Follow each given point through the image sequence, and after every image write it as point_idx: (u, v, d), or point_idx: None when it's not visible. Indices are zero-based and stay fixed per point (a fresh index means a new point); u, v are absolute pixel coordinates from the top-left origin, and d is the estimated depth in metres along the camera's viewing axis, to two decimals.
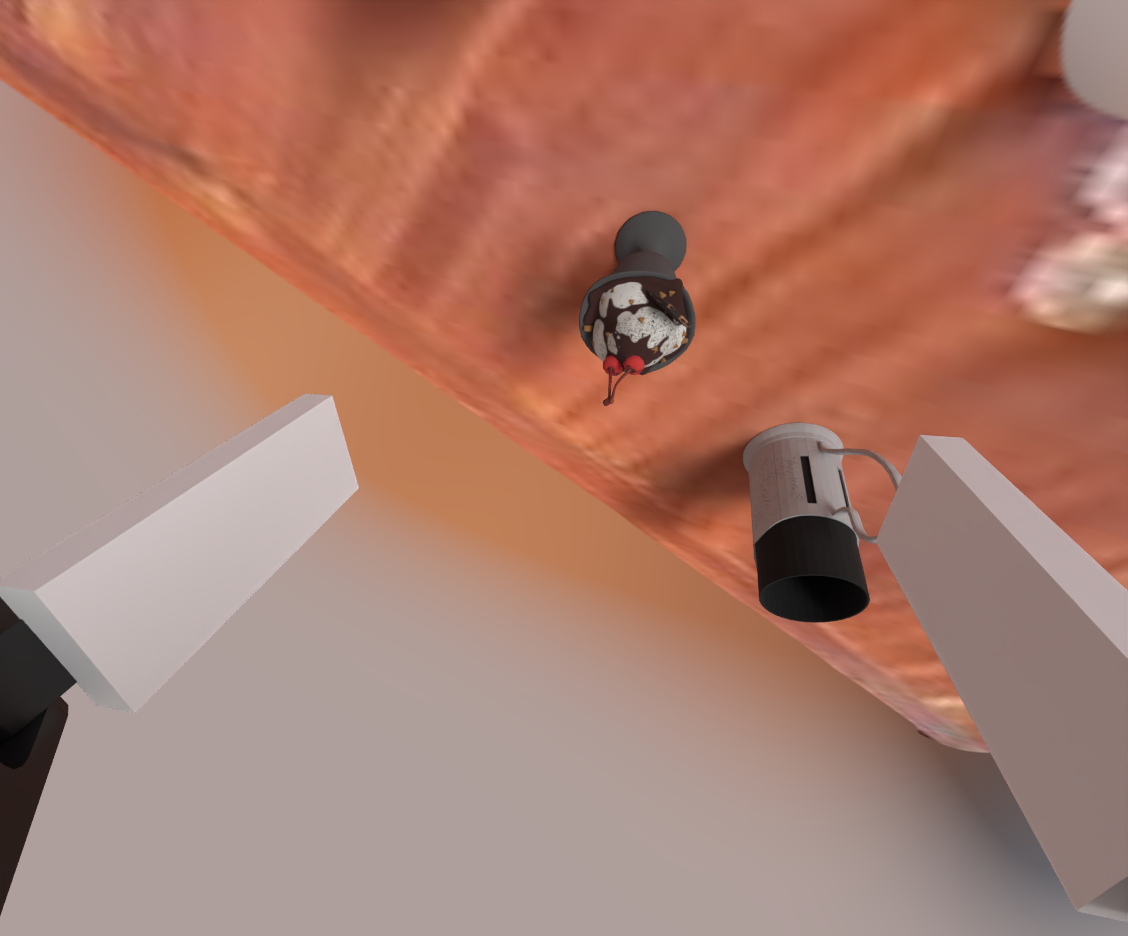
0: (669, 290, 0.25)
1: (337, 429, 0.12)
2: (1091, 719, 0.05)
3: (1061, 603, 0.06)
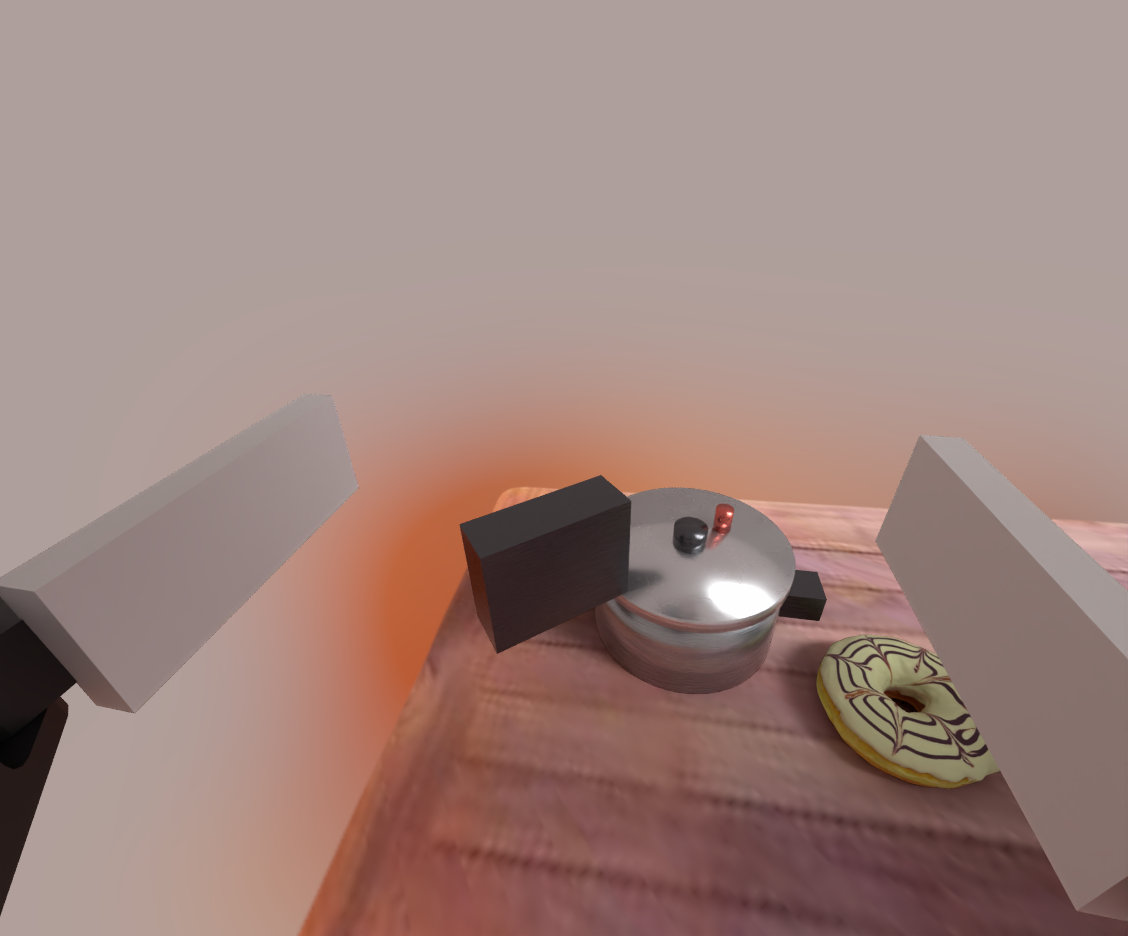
0: None
1: (337, 429, 0.12)
2: (1091, 719, 0.05)
3: (1061, 603, 0.06)
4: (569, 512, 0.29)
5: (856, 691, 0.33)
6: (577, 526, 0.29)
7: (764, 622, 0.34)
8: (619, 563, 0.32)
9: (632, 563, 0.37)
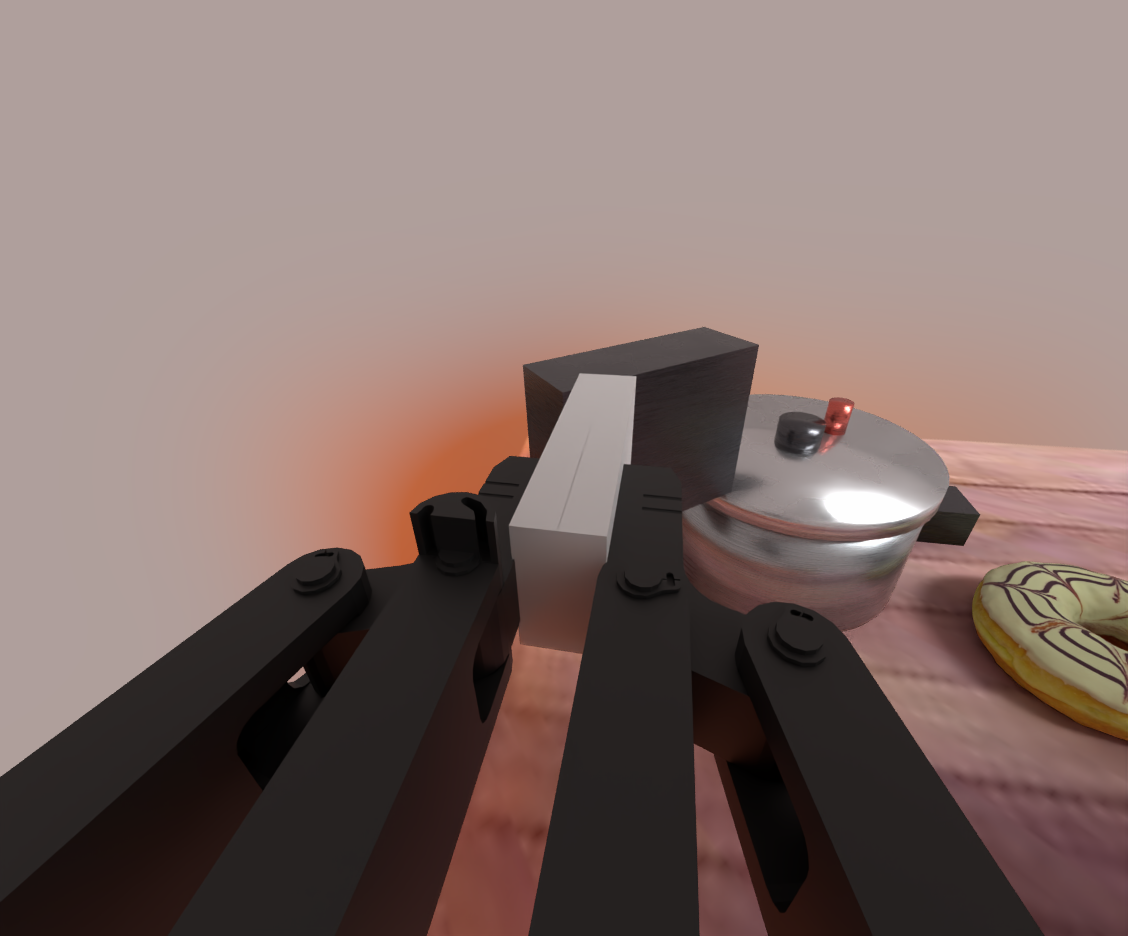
0: None
1: None
2: None
3: None
4: (677, 354, 0.21)
5: (1047, 623, 0.24)
6: (690, 369, 0.20)
7: (913, 534, 0.26)
8: (729, 444, 0.24)
9: None
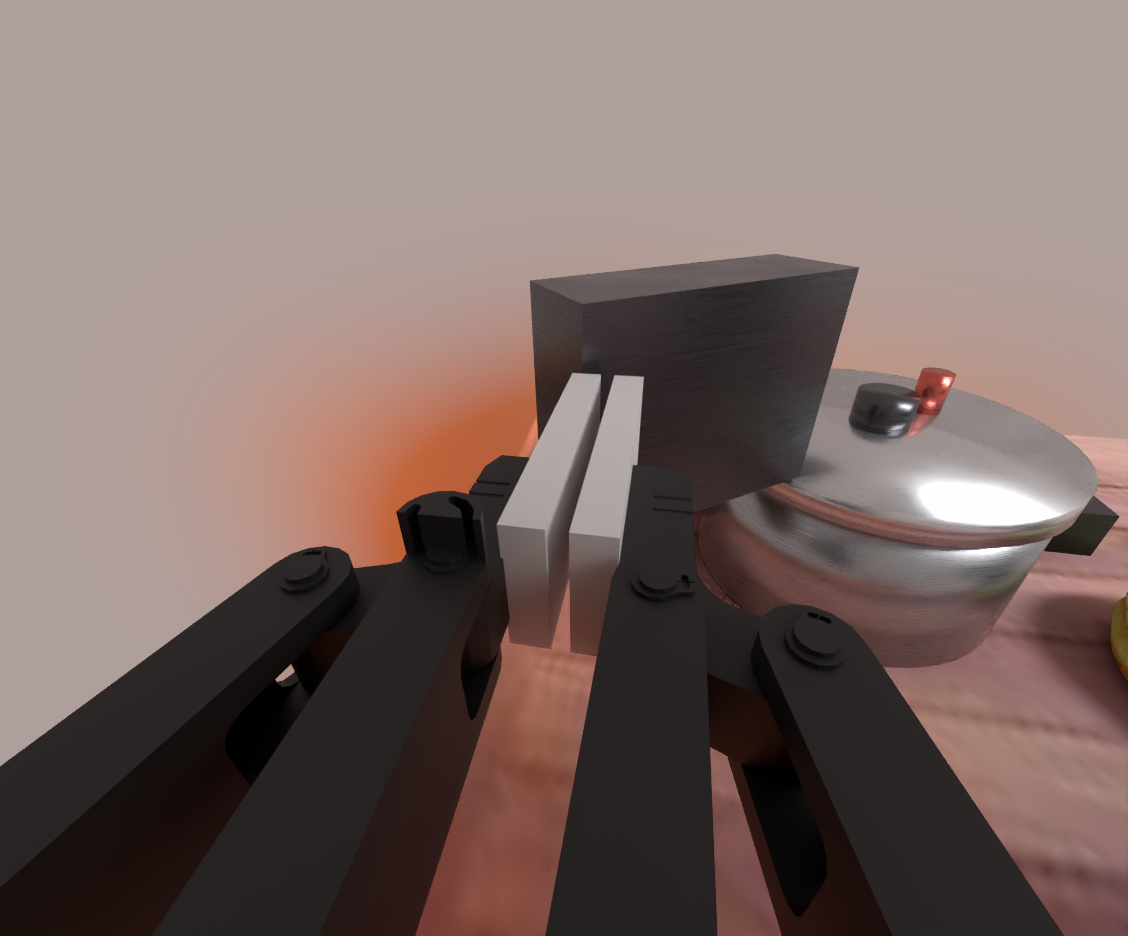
0: None
1: (599, 406, 0.13)
2: None
3: None
4: (744, 274, 0.15)
5: None
6: (765, 293, 0.14)
7: (1049, 540, 0.19)
8: (803, 410, 0.18)
9: None
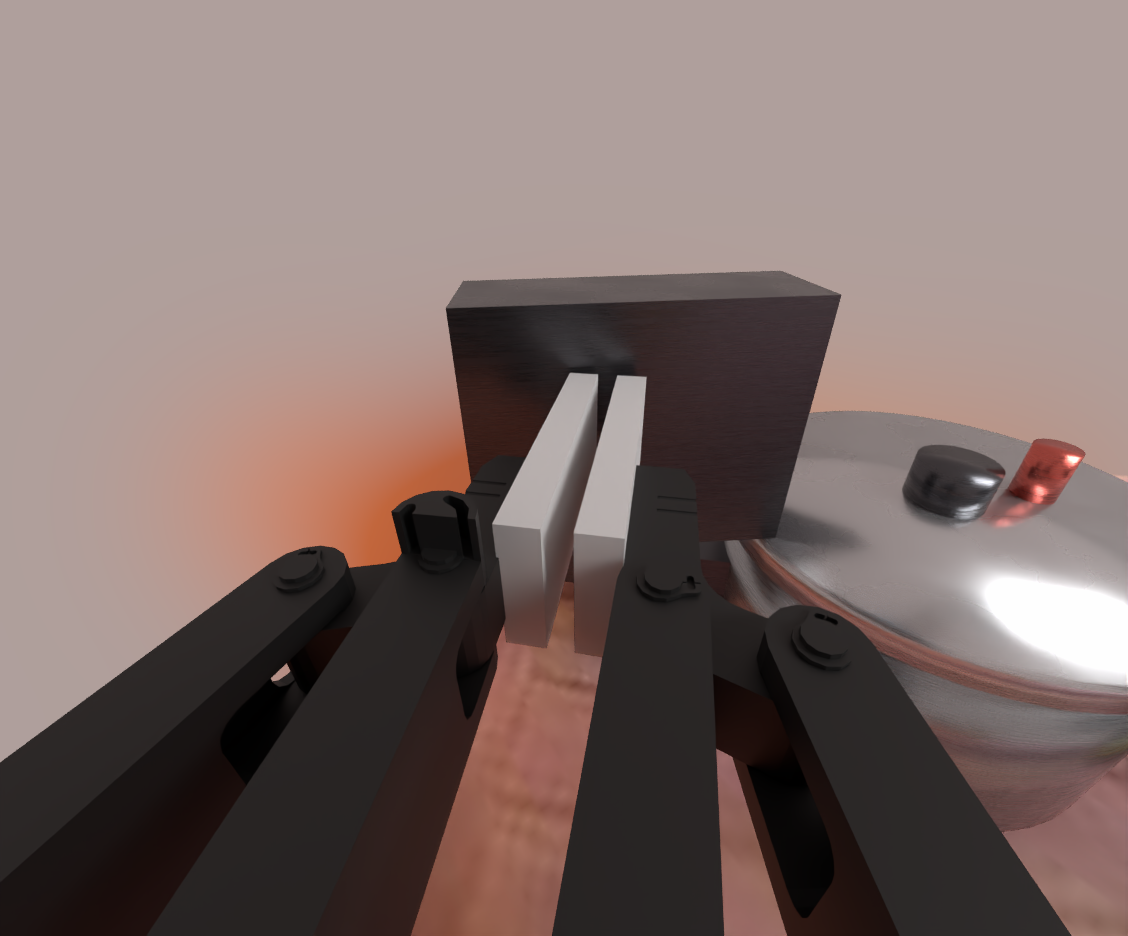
0: None
1: (596, 406, 0.13)
2: None
3: None
4: (681, 292, 0.13)
5: None
6: (689, 315, 0.12)
7: None
8: (770, 460, 0.15)
9: (802, 498, 0.18)
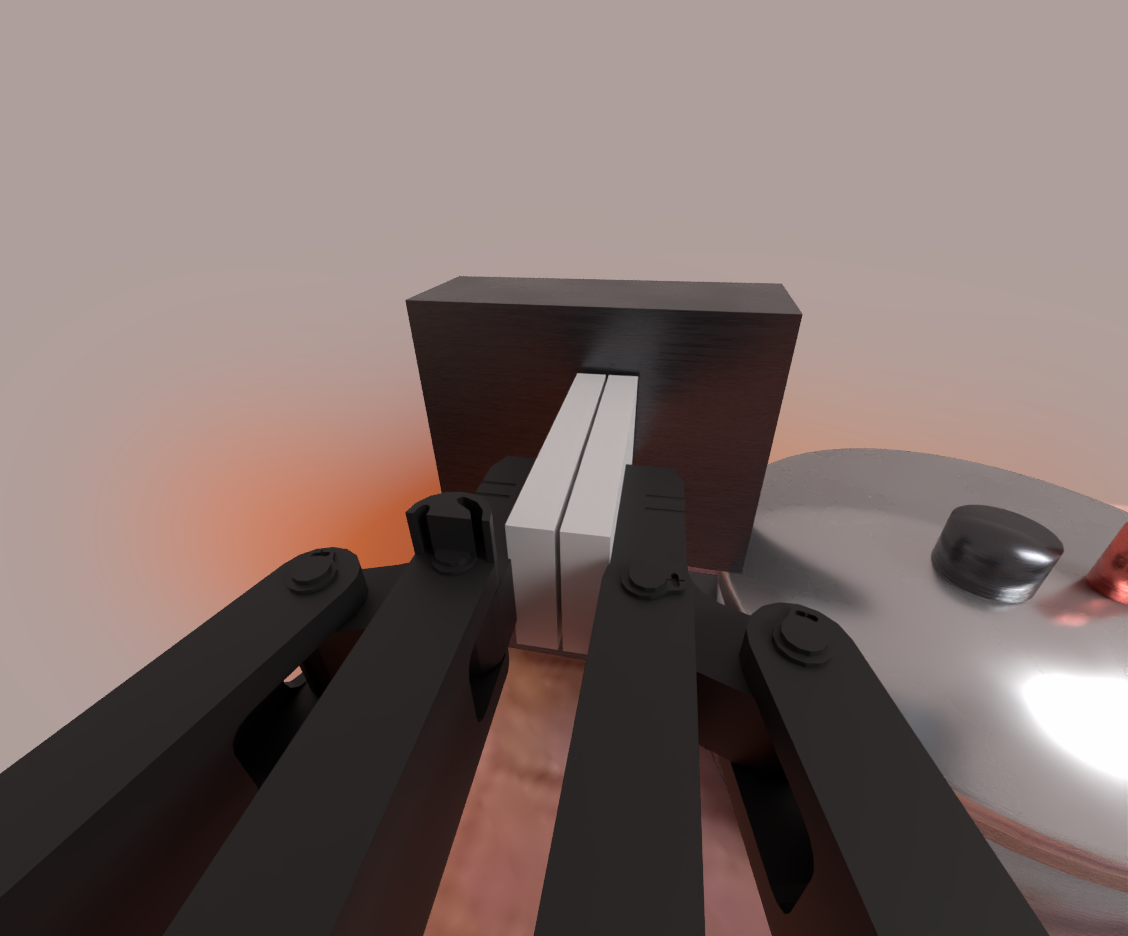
0: None
1: None
2: None
3: None
4: (636, 299, 0.13)
5: None
6: (630, 323, 0.12)
7: None
8: (730, 488, 0.14)
9: (799, 539, 0.16)
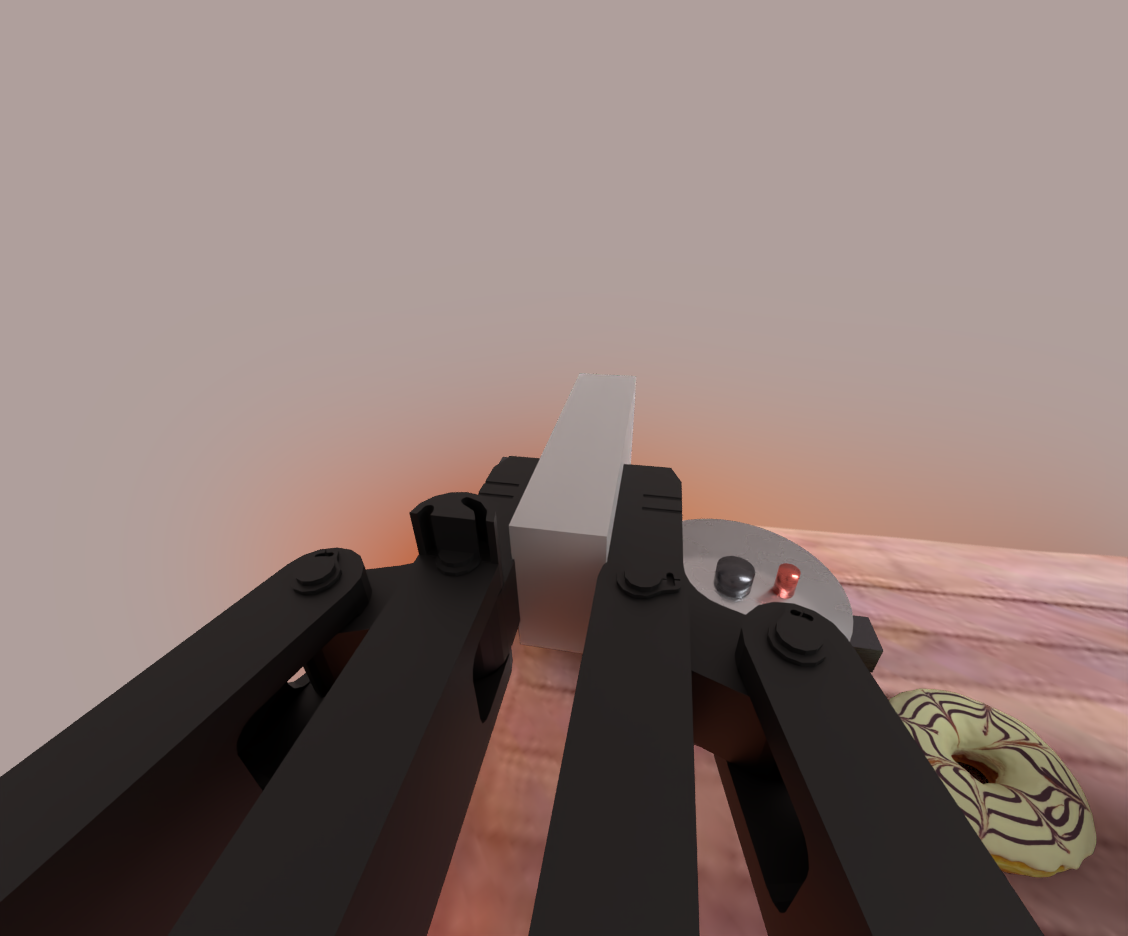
0: None
1: None
2: None
3: None
4: None
5: None
6: None
7: None
8: None
9: None
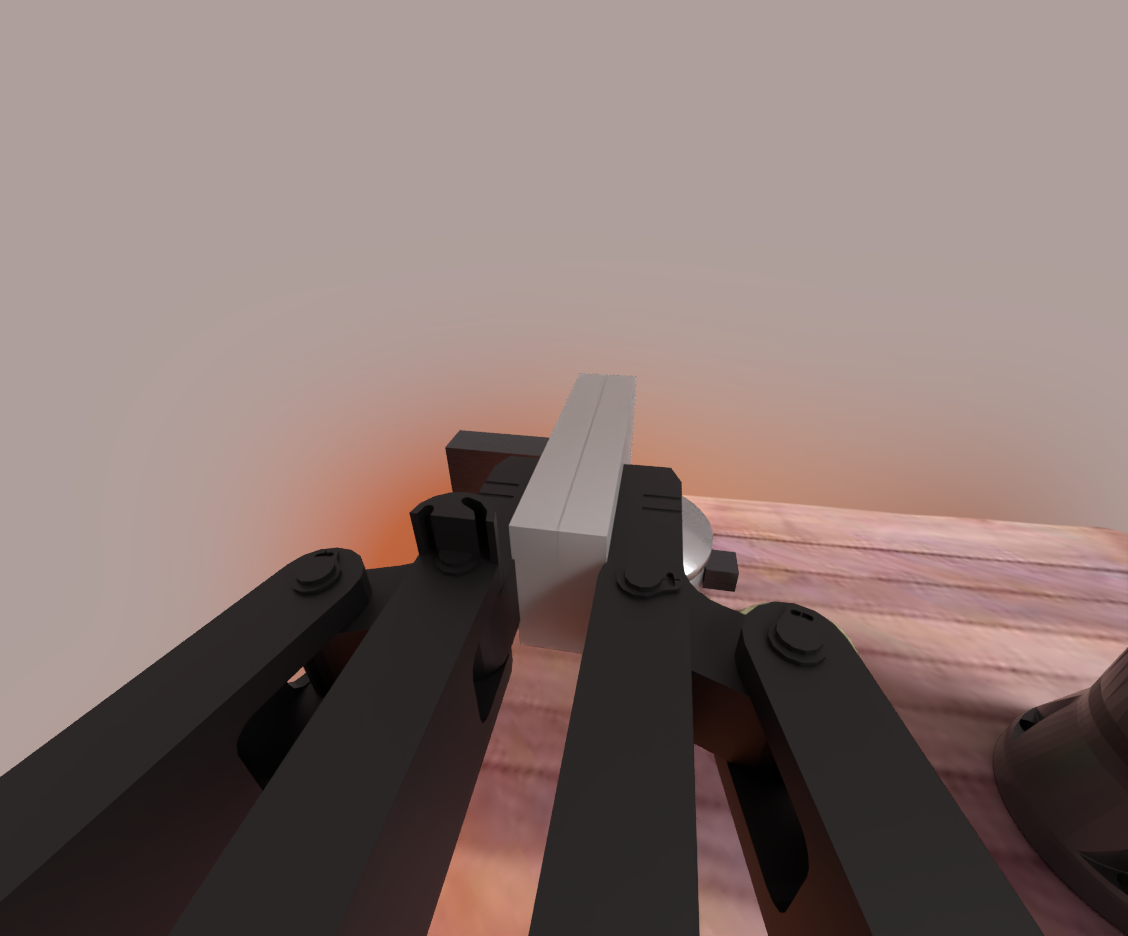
0: None
1: None
2: None
3: None
4: (512, 448, 0.44)
5: None
6: None
7: None
8: None
9: None
